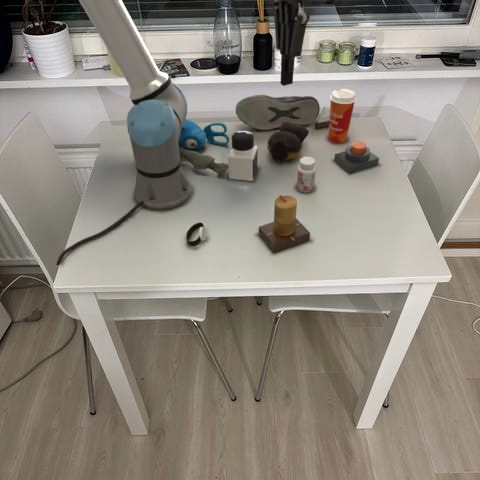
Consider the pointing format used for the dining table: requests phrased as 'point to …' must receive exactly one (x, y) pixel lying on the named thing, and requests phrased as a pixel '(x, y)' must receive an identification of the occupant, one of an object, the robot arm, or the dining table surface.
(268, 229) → the panel
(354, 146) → the button
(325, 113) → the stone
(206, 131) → the scissors
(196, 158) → the statue
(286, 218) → the lock knob
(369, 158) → the button box
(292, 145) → the figurine
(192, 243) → the watch
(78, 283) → the dining table surface
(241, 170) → the medicine bottle
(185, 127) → the toy
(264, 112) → the shoe
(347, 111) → the paper cup
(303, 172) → the pill bottle
